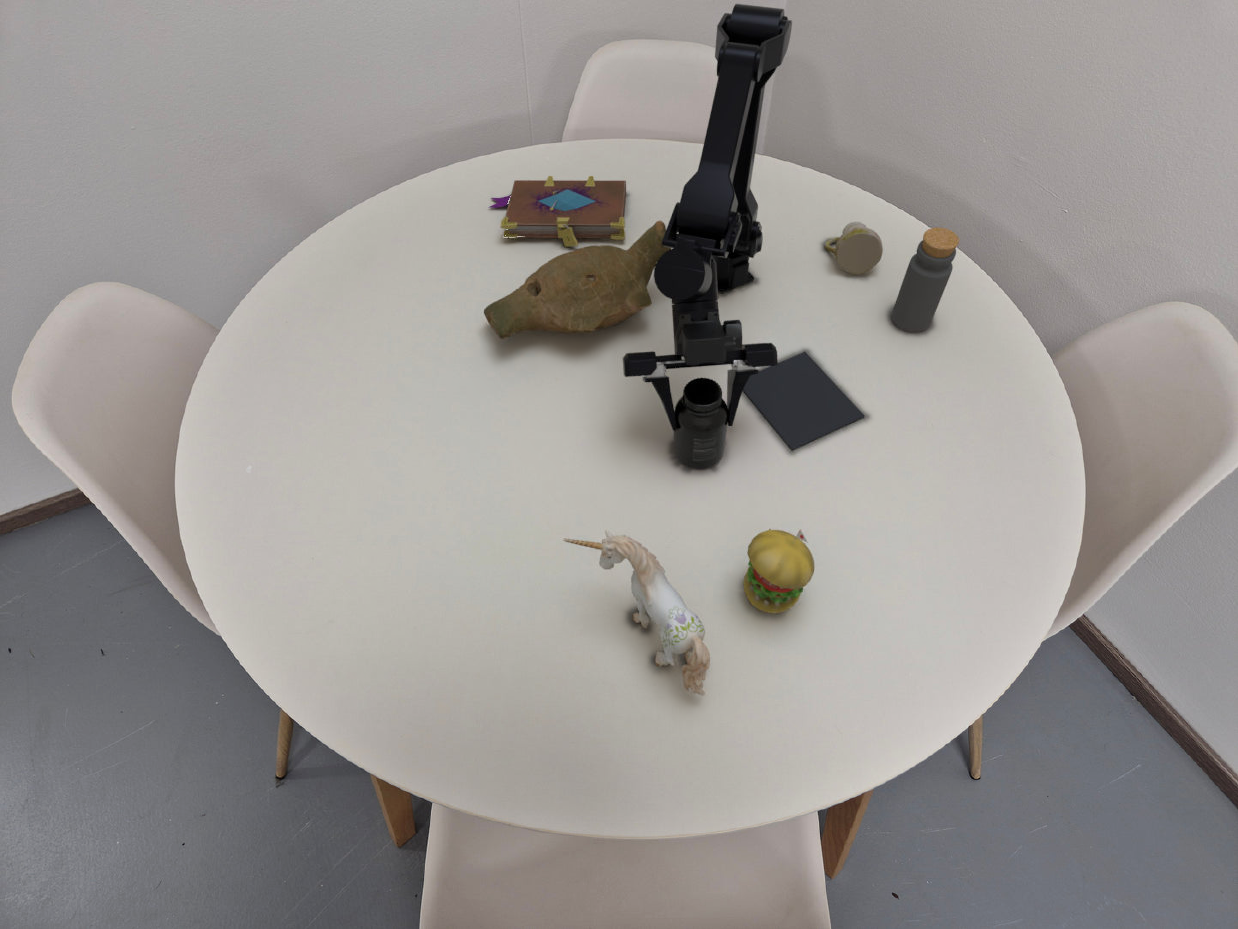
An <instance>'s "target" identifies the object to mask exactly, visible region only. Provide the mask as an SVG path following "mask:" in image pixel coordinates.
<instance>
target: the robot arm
mask: <svg viewBox="0 0 1238 929" xmlns="http://www.w3.org/2000/svg"><path fill="white" fill-rule="evenodd" d="M792 27H793V20H792V19H791V20H790V19H789V18H788V16H785V8H779V7H769V6H763V5H762V6H761V5H751V4H742V3H735V4H734V6H733V7H732V11H731V13H729V12H725V13H724V14H723V15H722V17H721V18H720V20H719V22H718V24H717V25H716V37H715V48H714V50H715V51H714V58H715V60H716V76H717V82H716V86H715V90H714V91H715V92H714V95H713V101H712V105H711V109H710V114H709V119H708V122H707V126H706V132H705V136H704V143H703V144H702V149H701V155H700V160H699V163H698V168H697V171H696V172H695V173H694V174H693V175H692V176H691V177H690V179H689V180H688V181H687V182H686V183H685V184H684V186H683V189H682V192H681V195H680V196H681V197H680V200H679V202H678V201H677V202H676V203H675V205H674V207H673V209H672V210H673V211H672V213H671V216H670V219H669V221H668V224H667V226H666V232H665V235H664V237H663V240H662V246H664V247H669V248H671V249H670V250H668V251H667V252H665V253H664V254H663V255H662V256H661V257H660V258H659V260H658V262H657V263H656V265H655V267H654V269H653V279H654V284H655V286H656V288H657V290H658V291H659V292H660V293H661V294H662V295H663V296H664V297H665V298H668V299H670V300H671V311H672V313H671V314H672V329H673V331H672V332H673V346H674V354H662V355H657V354H656V351H653V350H651V351H650V350H649V351H637V352H627V353H625V355H623V357H622V369H623V370H622V371H623V376H624V377H625V378H631V377H642V381H643V382H644V383H651V384H652V386H653V388H654V390H655V391H656V394H657V395H658V397H659V399H660V401H661V403H662V407H663V409H664V410H665V414H666V417H667V420H668V422H669V425H670V427H671V429H672V431H673V432H674V431H676V417H675V407H674V401H673V396H672V391H671V390H672V389H671V382H670V376H668V375H666V373H667V370H673V369H674V370H675V369H687V368H701V367H714V366H725V365H726V366H727V365H728V366H729V365H730V367H731V369H727V376H726V377H727V379H726V384H727V385H726V387H727V388H726V404H727V407H728V423H727V427H729V428H731V427H733V425H734V423H735V418H736V415H737V410H738V407H739V405H740V400H741V397H742V394H743V393H744V392H743V389H744V387H745V384H746V383H747V381H748V379H749V378H750V376H751V375H753V374H758V371H760V369H757V368H762V367H770V366H775V365H778V363H779V362H778V361H779V360H778V350H777V347H776V346H775V344H774V343H772V342H757V343H743V327H742V326H743V325H742V321H741V320H740V319H728V320H724V321H723V323H721V320H720V310H719V307H720V306H719V294H724V293H726V292H729V291H732V290H735V289H737V288H740V287H742V286H744V285H747V284H750V283H753V282H754V281H755V276H754V275H753V274H752V273H751V272H750V270H749V269H750V268H749V267H750V266H749V265H750V262H749V260H750V258H751V259H754V258H755V255H756V254H758V253H760V252H761V251H762V248H763V240H764V239H763V238H764V236H763V232H762V229H763V226H762V224H761V221H757V218H758V213H759V212H758V211H759V204H758V201H757V200H756V198H755V195H754V193H753V191H752V189H751V186H752V178H753V170H754V166H755V164H754V163H755V158H756V152H757V151H756V150H757V143H758V135H759V130H760V124H761V123H760V122H761V118H762V117H761V116H762V110H763V104H764V103H763V102H764V97H765V90H766V84H767V83H768V82H769V80H770V79H771V78H772V76H773V75H774V74H775V72H776V71H777V68H779V67H780V66H781V65H782V63H783V61H784V59H785V57H786V54H787V52H788V48H789V44H790V39H791V35H792V30H793V29H792ZM718 293H719V294H718Z"/></svg>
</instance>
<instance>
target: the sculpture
mask: <svg viewBox="0 0 1238 929" xmlns="http://www.w3.org/2000/svg"><path fill="white" fill-rule="evenodd" d="M666 229H667V226H666V223H665V222H664V221H662V220H657V221H655V223H653V225H652V226H650V227H649V228H648V229H647V230H645V232H644V233H642V235H641V236H640V237H639V238H638V239H637V240H636V241H634V242H633V243H632V245H630V247H629V248H628V249H623V248H621V247H619V246H615V245H608V244H600V245H587V246H583V247H580V248H577V249H574V250H572V251H568V252H564V253H561V254H558V255H556V256H555V257H553V258H551V259H550V260H548V261H547V262H545V263H544V264H543V265H541V266H539V268H537V270H536V271H533V273H531V274H530V275H529V276H528V277H527V278H526V279H525V281H524V283H523V284H522V285H520V286H519V287H518V288H516V289H515V290H514V291H512V292H510V293H509V294H507V295H505V296H504V297H502V298H500V299H497V300H496V301H493V302H492V303H490V304H489V305H487V306H486V307H485V308H484V309H483V315H484V317H485V319H486V321H487V323H488V325H490V327H491V328H492V329H493V331H494V333H495V334H496V335H497V337H498V339H499V338H500V339H501V340H505V339H506V338H510V337H511V336H512V335H514V334H519V333H522V332H523V333H524V332H526V331H527V332H528V331H529V332H530V331H548V332H555V333H564V334H592V333H593V332H594V331H599V330H603V329H607V328H609V327H613V326H614V325H618V324H620V323H623V322H624V321H626V320H628V319H629V318H631V317H632V316H633V315H635V314H636V313H638V311H642V310H643V309H644V308H646V307H649V306H651V305H652V304H653V302H652V299H651V296H650V293H649V291H648V285H649V282H650V280H651V277H652V274H653V273H654V269H655V265H656V264H657V262H658V260H659V258H660V257H661V256H662V255H663V254H664V253H665V252H667V251H668V250H670V249H672V248H669V247H664V246H662V240H663V237H664V235H665V232H666Z"/></svg>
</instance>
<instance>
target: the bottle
mask: <svg viewBox="0 0 1238 929" xmlns="http://www.w3.org/2000/svg"><path fill="white" fill-rule="evenodd" d="M922 235H923V236H922V240H921V241H920V242H919V243H918V244H917V248H916V253H915V254H913V256H911V258H910V261H909V263H908V266H907V268H906V271H905V274H904V276H903V280H902V282H901V284H900V289H899V291H898V294H897V297H896V300H895V303H894V306H893V309H892V312H891V320H892V321H891V322H892V323H893V324H894V325H895V327H897V328H898V329H900V330H901V331H904V332H907V333H920V332H924V331H926V330H927V329H928V328H930V326H931V323H932V321H933V319H934V316H935V314H936V312H937V309H938V307H939V304H940V302H941V299H942V297H943V294H944V293H945V289H946V287H947V286H948V285H947V284H948V282H949V281H950V280H949V279H950V277H951V274H952V272H953V268H954V267H953V262H954V260H955V258H956V254H957V247H958V245H960V244H959V243H960V238H959V236H958V235H957V234H956V233H955V232H954V231H952V230H951V229H948V228H946V227H945V228H944V227H932V228H929V229H927V230H926V231H924V233H923V234H922Z"/></svg>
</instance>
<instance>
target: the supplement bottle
mask: <svg viewBox="0 0 1238 929" xmlns="http://www.w3.org/2000/svg"><path fill="white" fill-rule="evenodd" d="M674 411H675V417H676V431H673V454H674V456H675V458H676V459H677V461H678V462H679V463H680V464H681V465H683V466H685V467H686V468H689V469H691V470H706V469H707V470H708V469H710V468H712V467H714V466H716V465H717V464H718V463H719V462H720V461H721V460H722V458H723V457H724V453H725V448H726V439H727V430H728V407H727V402H726V401H725V400H724V398H723V390H722V387H721V385H720V384H719V383H718V382H717V381H716V380H713V379H711V378H707V377H696V378H693V379H691V380H690V381H688V382H687V383H686V384H685V386H684V387H683V390H682V396H680V398H679V399H678V400H677V402H676V404H675V407H674Z"/></svg>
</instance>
